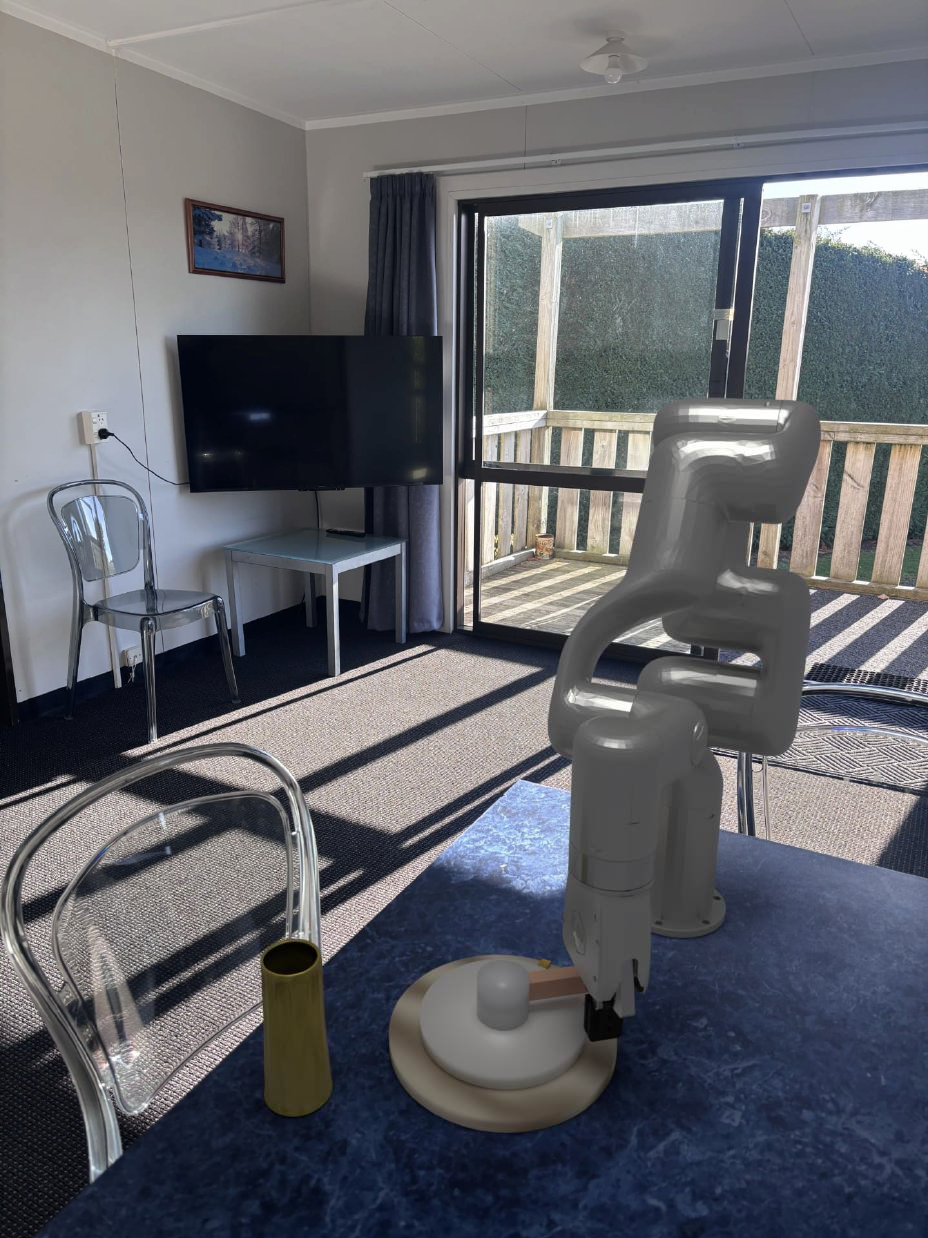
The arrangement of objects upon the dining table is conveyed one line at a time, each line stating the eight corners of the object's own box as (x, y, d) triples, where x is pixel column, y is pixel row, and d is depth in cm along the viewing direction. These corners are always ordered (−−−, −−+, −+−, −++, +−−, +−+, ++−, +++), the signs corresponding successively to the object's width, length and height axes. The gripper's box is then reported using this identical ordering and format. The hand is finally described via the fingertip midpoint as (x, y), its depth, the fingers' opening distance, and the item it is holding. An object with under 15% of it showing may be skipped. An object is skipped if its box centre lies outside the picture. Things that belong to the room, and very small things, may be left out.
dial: (436, 1102, 78) (435, 1050, 77) (408, 982, 93) (407, 937, 92) (677, 1063, 83) (681, 1012, 81) (613, 954, 98) (616, 910, 96)
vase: (318, 1124, 78) (311, 984, 74) (252, 1112, 79) (242, 974, 75) (341, 1071, 84) (336, 939, 80) (280, 1061, 85) (271, 931, 81)
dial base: (456, 944, 102) (456, 929, 102) (645, 1007, 92) (646, 992, 92) (343, 1075, 83) (342, 1058, 83) (565, 1172, 74) (565, 1154, 73)
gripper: (544, 820, 84) (540, 986, 89) (601, 913, 70) (591, 1104, 75) (620, 812, 86) (611, 976, 91) (690, 901, 72) (675, 1089, 77)
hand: (602, 1033), depth 83 cm, fingers closed
